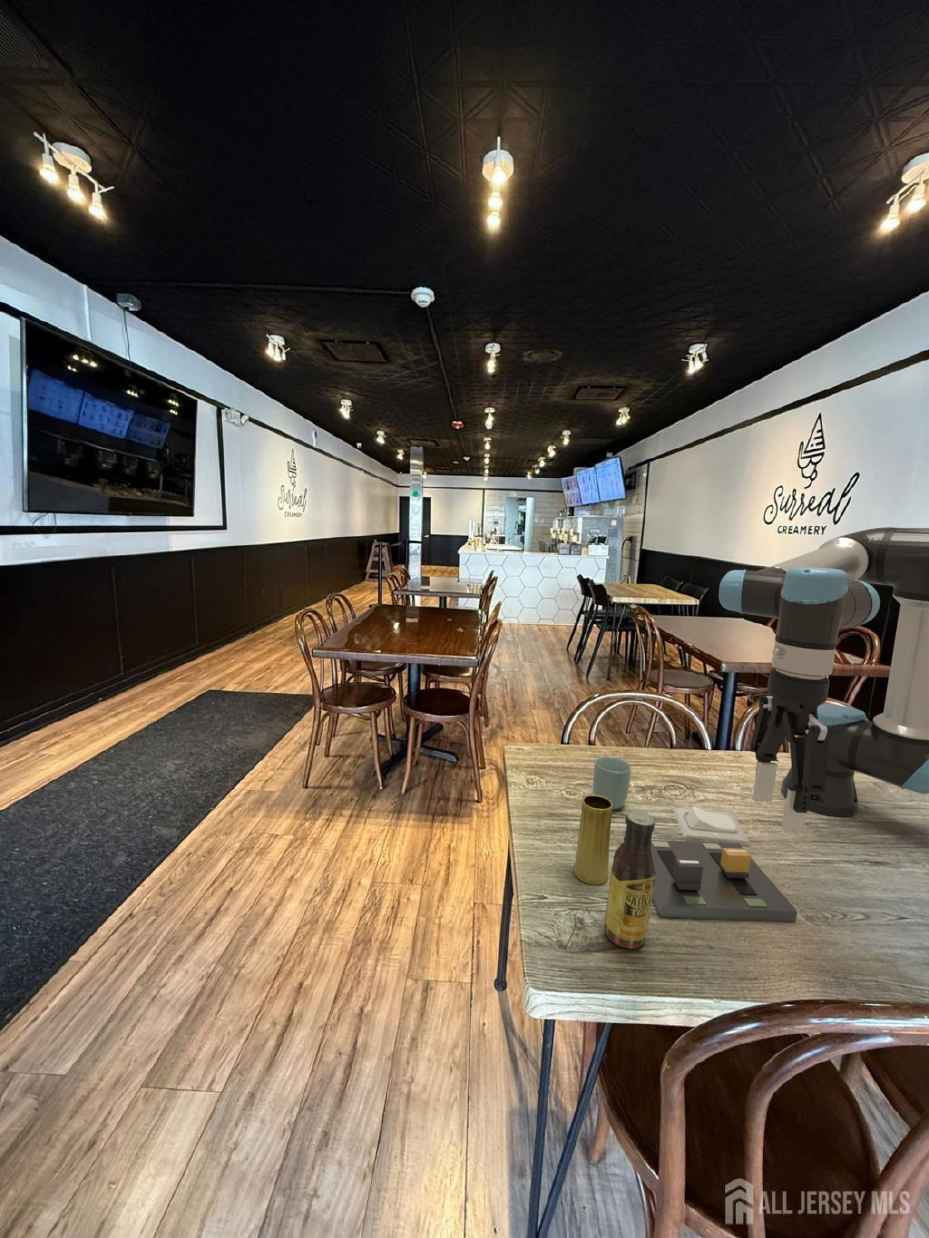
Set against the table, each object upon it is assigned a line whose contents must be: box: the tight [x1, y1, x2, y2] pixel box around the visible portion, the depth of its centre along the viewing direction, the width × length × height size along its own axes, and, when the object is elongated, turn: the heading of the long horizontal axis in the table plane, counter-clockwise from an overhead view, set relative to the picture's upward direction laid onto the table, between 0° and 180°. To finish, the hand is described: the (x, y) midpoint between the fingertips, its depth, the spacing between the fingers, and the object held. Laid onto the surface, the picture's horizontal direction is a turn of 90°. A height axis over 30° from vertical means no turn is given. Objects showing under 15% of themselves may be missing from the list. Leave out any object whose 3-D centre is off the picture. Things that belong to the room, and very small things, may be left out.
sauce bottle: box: [604, 810, 656, 950], centre depth 77 cm, size 7×6×20 cm
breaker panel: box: [651, 839, 798, 923], centre depth 91 cm, size 22×18×2 cm
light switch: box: [673, 806, 751, 847], centre depth 109 cm, size 11×4×13 cm
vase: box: [573, 793, 614, 885], centre depth 91 cm, size 6×6×14 cm
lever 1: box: [672, 859, 703, 890], centre depth 87 cm, size 4×3×4 cm
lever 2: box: [720, 848, 752, 878], centre depth 90 cm, size 4×3×4 cm
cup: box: [592, 756, 632, 811], centre depth 115 cm, size 8×8×10 cm
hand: (776, 813), depth 79 cm, fingers open, 7 cm apart
